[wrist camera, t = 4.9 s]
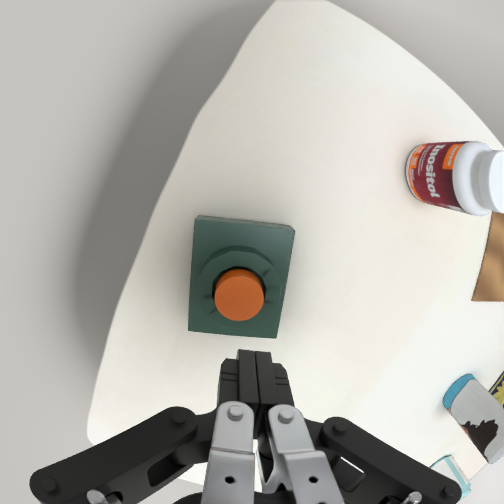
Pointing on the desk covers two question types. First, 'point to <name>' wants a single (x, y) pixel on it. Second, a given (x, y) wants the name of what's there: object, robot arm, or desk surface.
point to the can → (453, 473)
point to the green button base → (238, 257)
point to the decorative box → (498, 390)
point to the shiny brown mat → (492, 264)
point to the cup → (477, 416)
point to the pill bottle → (458, 176)
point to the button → (239, 295)
